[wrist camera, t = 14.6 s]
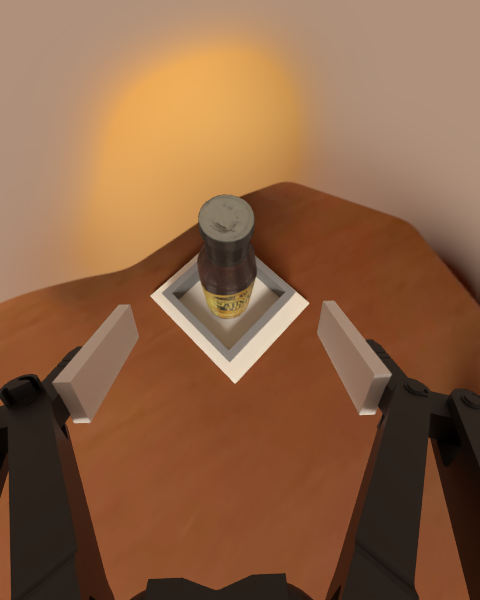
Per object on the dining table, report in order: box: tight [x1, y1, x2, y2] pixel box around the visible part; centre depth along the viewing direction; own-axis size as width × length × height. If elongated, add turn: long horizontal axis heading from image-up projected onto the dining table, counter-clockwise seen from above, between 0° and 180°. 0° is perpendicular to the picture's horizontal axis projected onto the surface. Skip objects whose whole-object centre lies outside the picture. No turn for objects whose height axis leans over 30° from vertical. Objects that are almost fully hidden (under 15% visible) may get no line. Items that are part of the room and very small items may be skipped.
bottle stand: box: [151, 254, 309, 383], centre depth 34 cm, size 18×16×5 cm
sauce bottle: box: [197, 195, 257, 319], centre depth 26 cm, size 6×6×20 cm
